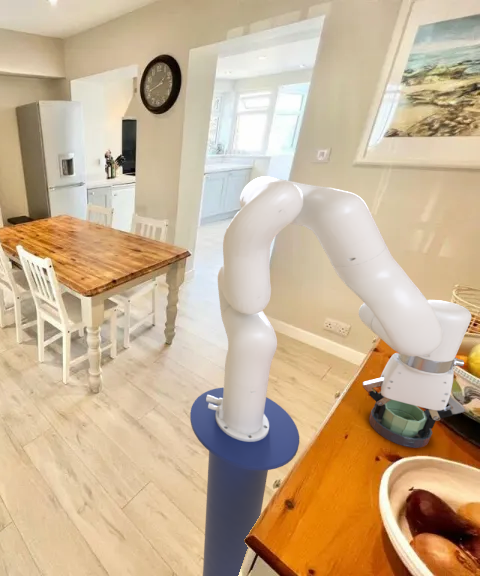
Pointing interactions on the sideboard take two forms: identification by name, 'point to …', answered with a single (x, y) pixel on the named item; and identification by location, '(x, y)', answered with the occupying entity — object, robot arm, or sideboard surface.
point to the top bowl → (403, 418)
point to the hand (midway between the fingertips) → (400, 421)
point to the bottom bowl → (414, 442)
